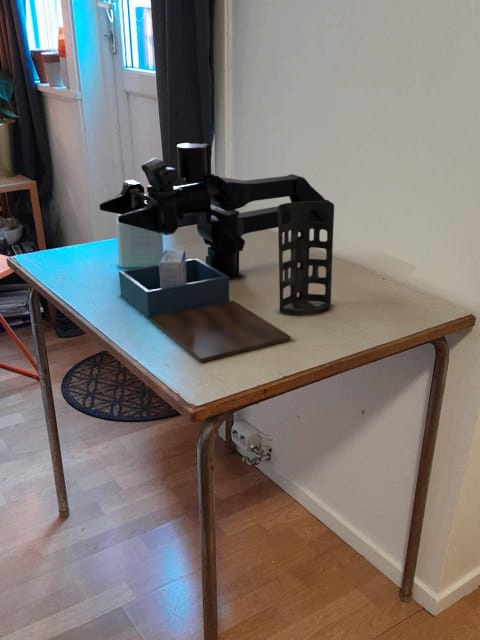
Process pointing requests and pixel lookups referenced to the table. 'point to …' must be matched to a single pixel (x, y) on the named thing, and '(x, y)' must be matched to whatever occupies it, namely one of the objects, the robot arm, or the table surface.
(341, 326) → the table surface
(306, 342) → the table surface
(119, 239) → the grey rounded block
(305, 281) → the holder
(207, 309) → the board
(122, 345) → the table surface
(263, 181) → the robot arm
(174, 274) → the medicine box
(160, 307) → the tote
